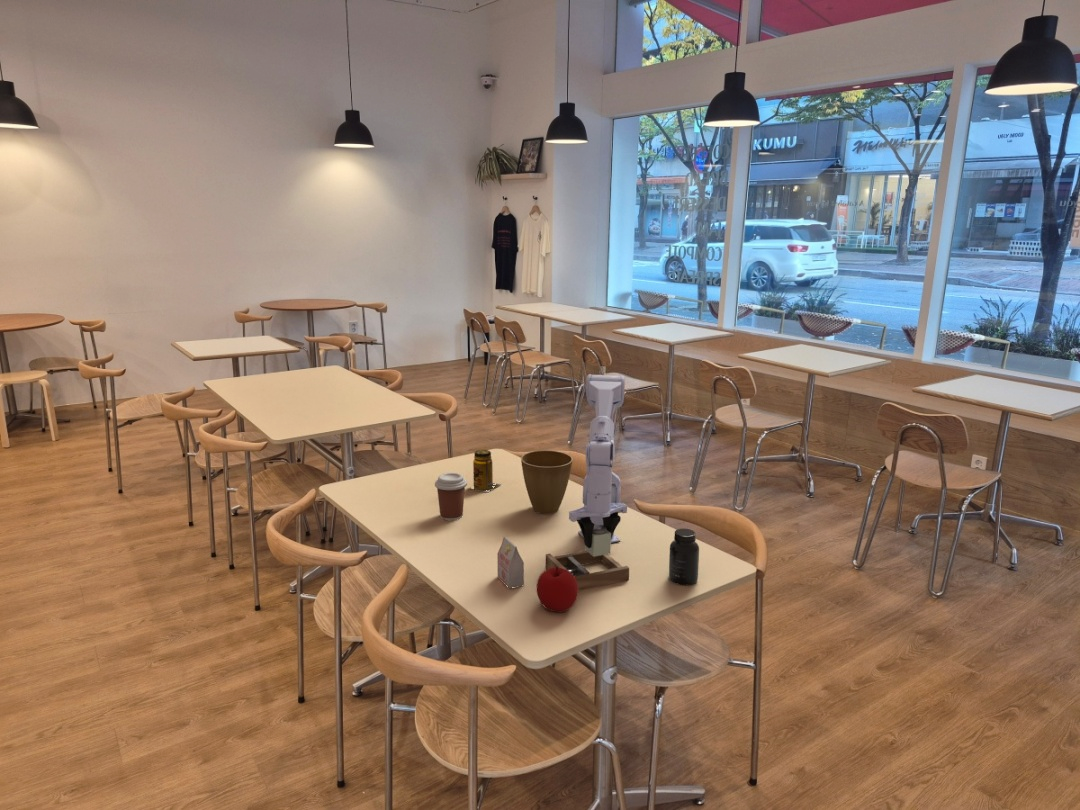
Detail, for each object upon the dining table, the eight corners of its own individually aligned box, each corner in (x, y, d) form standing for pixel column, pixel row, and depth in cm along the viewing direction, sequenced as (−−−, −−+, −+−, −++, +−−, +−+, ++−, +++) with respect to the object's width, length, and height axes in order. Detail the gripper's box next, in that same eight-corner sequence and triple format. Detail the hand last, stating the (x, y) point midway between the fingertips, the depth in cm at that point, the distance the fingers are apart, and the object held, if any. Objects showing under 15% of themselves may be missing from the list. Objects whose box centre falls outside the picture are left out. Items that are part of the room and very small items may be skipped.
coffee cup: (451, 525, 203) (451, 484, 200) (428, 517, 208) (427, 477, 205) (474, 515, 210) (473, 475, 207) (451, 507, 215) (450, 469, 213)
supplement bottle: (677, 569, 178) (680, 523, 175) (702, 578, 174) (705, 531, 171) (662, 579, 173) (665, 532, 170) (688, 589, 169) (691, 540, 166)
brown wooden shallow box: (545, 569, 177) (545, 554, 176) (603, 558, 184) (603, 543, 183) (567, 592, 166) (568, 576, 165) (628, 579, 173) (629, 564, 172)
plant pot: (510, 508, 215) (510, 456, 211) (547, 496, 225) (548, 447, 221) (544, 524, 204) (544, 469, 201) (582, 510, 214) (583, 458, 210)
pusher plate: (553, 571, 177) (553, 559, 176) (571, 567, 179) (571, 556, 178) (570, 588, 168) (570, 576, 168) (589, 584, 170) (589, 572, 170)
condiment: (468, 489, 231) (467, 452, 228) (482, 481, 238) (482, 445, 235) (487, 493, 228) (487, 456, 225) (501, 484, 235) (501, 449, 232)
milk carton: (511, 573, 175) (511, 535, 173) (523, 586, 169) (523, 546, 167) (497, 576, 174) (497, 537, 171) (509, 589, 168) (509, 549, 165)
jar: (584, 549, 176) (585, 525, 174) (601, 546, 178) (601, 522, 176) (593, 556, 172) (594, 532, 170) (610, 553, 174) (611, 529, 172)
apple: (586, 606, 160) (587, 564, 158) (559, 622, 154) (560, 579, 152) (554, 592, 166) (555, 552, 164) (527, 607, 160) (527, 565, 158)
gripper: (579, 500, 165) (577, 556, 168) (634, 492, 170) (632, 546, 174) (565, 490, 171) (564, 544, 174) (619, 482, 177) (617, 534, 180)
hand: (597, 544), depth 174 cm, fingers closed on jar, 4 cm apart
